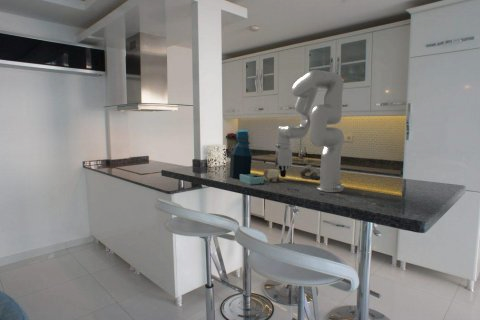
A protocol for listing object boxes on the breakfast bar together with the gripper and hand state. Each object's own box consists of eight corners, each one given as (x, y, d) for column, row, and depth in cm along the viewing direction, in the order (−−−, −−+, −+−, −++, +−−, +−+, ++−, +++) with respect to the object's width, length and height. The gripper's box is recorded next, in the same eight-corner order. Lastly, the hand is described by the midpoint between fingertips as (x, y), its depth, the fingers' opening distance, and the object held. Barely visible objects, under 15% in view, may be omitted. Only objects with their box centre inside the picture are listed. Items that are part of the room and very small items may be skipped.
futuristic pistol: (317, 188, 184) (325, 174, 180) (298, 175, 191) (305, 161, 188) (319, 187, 186) (326, 174, 182) (299, 174, 193) (306, 161, 190)
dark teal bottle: (251, 179, 184) (252, 129, 181) (228, 179, 185) (228, 129, 182) (250, 174, 205) (251, 129, 202) (230, 173, 206) (230, 129, 202)
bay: (263, 183, 171) (263, 176, 171) (249, 184, 167) (249, 177, 167) (253, 180, 182) (253, 173, 182) (239, 181, 178) (239, 174, 178)
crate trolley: (279, 181, 179) (279, 170, 178) (269, 182, 176) (269, 171, 175) (272, 179, 186) (272, 169, 185) (262, 180, 183) (263, 169, 182)
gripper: (276, 147, 176) (276, 178, 178) (297, 146, 183) (296, 176, 185) (269, 146, 183) (269, 176, 185) (290, 146, 189) (289, 175, 191)
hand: (282, 176), depth 185 cm, fingers closed
